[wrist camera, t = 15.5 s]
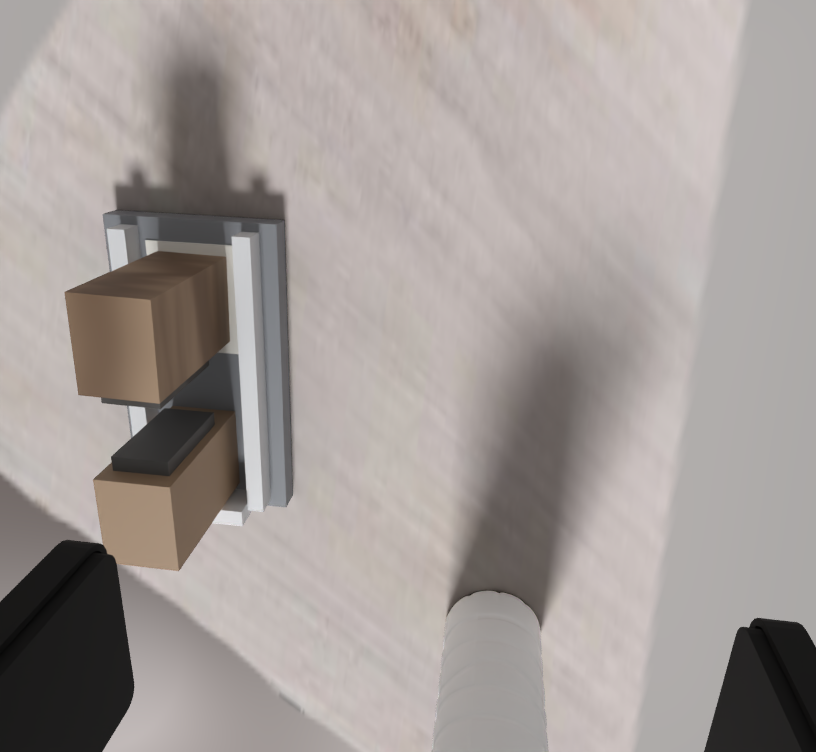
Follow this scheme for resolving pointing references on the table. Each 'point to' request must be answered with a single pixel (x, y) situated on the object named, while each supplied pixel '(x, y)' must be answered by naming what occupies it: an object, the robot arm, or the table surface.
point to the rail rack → (205, 401)
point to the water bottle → (491, 678)
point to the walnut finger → (148, 327)
